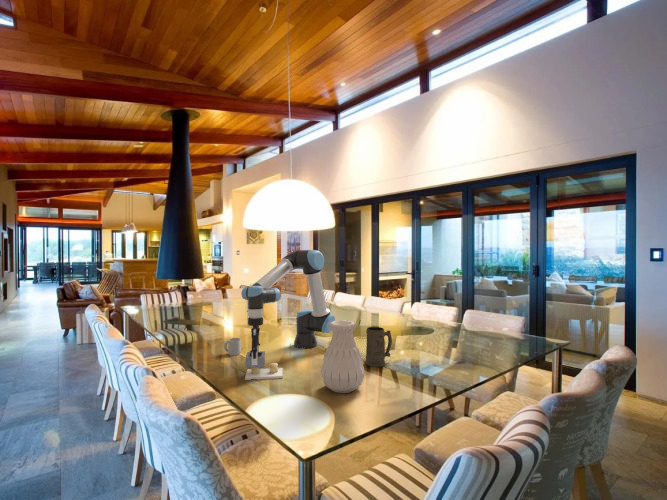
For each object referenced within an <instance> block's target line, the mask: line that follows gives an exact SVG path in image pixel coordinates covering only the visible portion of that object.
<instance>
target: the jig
mask: <svg viewBox="0 0 667 500" xmlns="http://www.w3.org/2000/svg"><path fill="white" fill-rule="evenodd" d="M278 366H279V365H278V363H277V362H270V363H269V367H268V368H261V367H255V368H250V369H249V368H246V373H245V377H244V380H245V381H252V380H251V379H257V380H273V379H275V380H276V379H277V380H278V379H283V377H284V374H283V373H284V367H278Z"/></svg>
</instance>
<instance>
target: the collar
mask: <svg viewBox="0 0 667 500" xmlns="http://www.w3.org/2000/svg"><path fill="white" fill-rule="evenodd" d="M265 364H266V351H265V350H264V351H259V352H258V354H257V365H252V352H250V351H247V352H246V354H245V367H244V368H245V369H249V368H250V369H251V368H255V367H260V368H265Z"/></svg>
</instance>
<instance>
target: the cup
mask: <svg viewBox="0 0 667 500" xmlns="http://www.w3.org/2000/svg"><path fill="white" fill-rule="evenodd" d="M241 343H242V341H241V338H240V337H230V338H228V340H227V341H225V342H224V344H223V349H224V352H226V353H228V354H227V355H228V356H232V357H235V356H239V355H240V354H241V353H242V351H241V350H242V349H241V347H242V345H241Z"/></svg>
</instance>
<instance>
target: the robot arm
mask: <svg viewBox="0 0 667 500" xmlns="http://www.w3.org/2000/svg"><path fill="white" fill-rule="evenodd" d="M324 266H325V257H324V255H323V253H322V252H321V251H319V250H316V249H297V250H294V251H292V252H290V253H288V254H287V255H285V256H284V257H282V258H281V259H280V260H279V263H278V264H277V265H275V266H274V267H273V268H271V270H269V271H268V272H266V273H265V274H264V275H263V276H262V277H260V278H259V279H258V280H257V281H256V282H255V283H253V284H252V285H251V286H250V285H249V286H244V287H243V288H242V290H241V291H240V292H241V293H240V294H241V297H242V299H243V300H245V301H247V310H246V313H247V317H248V318H247V325H248V326H249V327H251V330H250V333H251V350H250V351H249V352H252V365H257V354H258V352H260V347H259V346H261V343H260V340H259V339H260V331H261V330H260V328H261V327H260V326H262V325H264V305H266V304H270V303H275V302H279V301H280V299H281V294H282V293H281V290H280V289H279V288H277V287H273V286H274V285H275V284H276V283H277V282H279V281H280V280H281V279H282V278H283V277H284V276H285V275H287V274H288V273H291V272H293V271H294V270H298V269H299V270H302V273H303V275H304V276H306V280H307V281H306V282H307V286H308V289H309V296H310V300H311V306H312V309H304V310H299V311H297V313H296V335H295V338H294V340H293V347H295V348H297V349H312V348H315V347H318V341H317V337H316V335H315V332H319V333H323V334H324V333H325V334H328V333H331V332H333V331H332V329H331V328H330V326H329V323H330V322H333V321H336V316H335V315H333V314H331V310H330V309H329V308H327V302H326V296H325V292H324V286H323V281H322V276H321V272H322V271H323V268H324Z"/></svg>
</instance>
